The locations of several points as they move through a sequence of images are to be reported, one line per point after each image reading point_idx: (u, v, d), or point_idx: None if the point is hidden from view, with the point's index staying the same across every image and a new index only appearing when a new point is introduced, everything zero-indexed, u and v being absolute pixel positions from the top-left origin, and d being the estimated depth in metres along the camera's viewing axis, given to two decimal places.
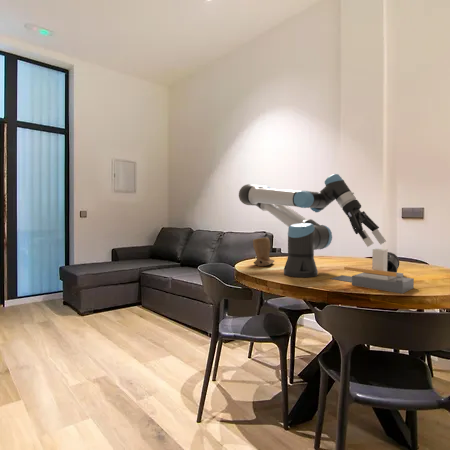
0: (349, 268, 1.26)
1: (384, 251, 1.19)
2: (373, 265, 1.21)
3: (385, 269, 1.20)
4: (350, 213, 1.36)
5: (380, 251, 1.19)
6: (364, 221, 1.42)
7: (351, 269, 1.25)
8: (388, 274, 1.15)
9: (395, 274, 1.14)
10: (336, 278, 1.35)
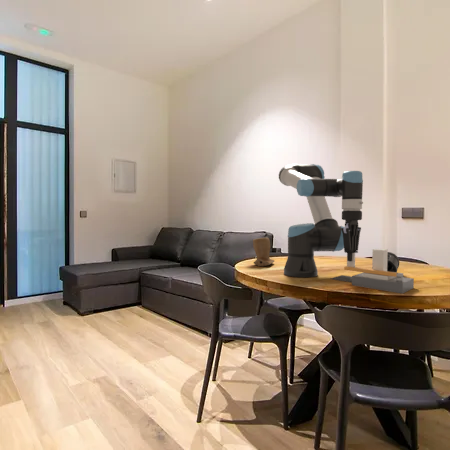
0: (349, 268, 1.26)
1: (384, 251, 1.19)
2: (373, 265, 1.21)
3: (385, 269, 1.20)
4: (346, 231, 1.23)
5: (380, 251, 1.19)
6: None
7: (351, 269, 1.25)
8: (388, 274, 1.15)
9: (395, 274, 1.14)
10: (336, 278, 1.35)
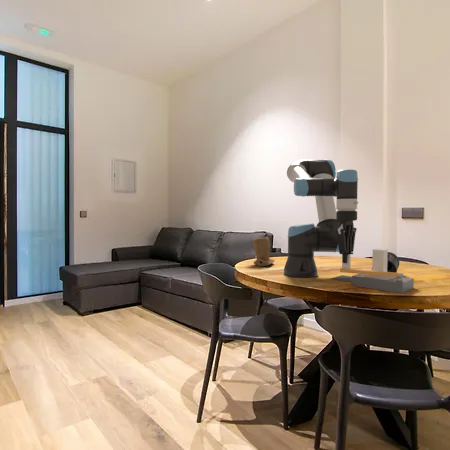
0: (345, 270, 1.21)
1: (384, 251, 1.19)
2: (373, 265, 1.21)
3: (385, 269, 1.20)
4: (340, 232, 1.19)
5: (380, 251, 1.19)
6: None
7: (348, 271, 1.21)
8: (388, 275, 1.14)
9: (396, 274, 1.13)
10: (336, 278, 1.35)
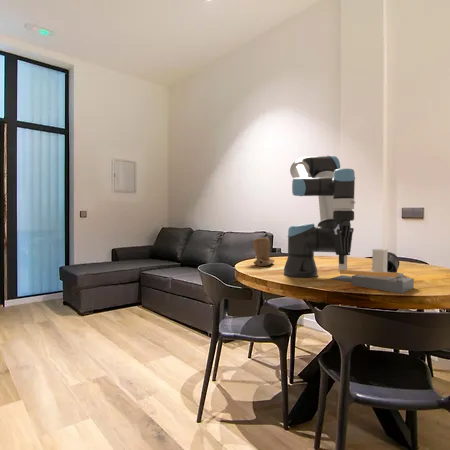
0: (346, 272, 1.18)
1: (384, 251, 1.19)
2: (373, 265, 1.21)
3: (385, 269, 1.20)
4: (337, 232, 1.16)
5: (380, 251, 1.19)
6: None
7: (348, 272, 1.18)
8: (389, 275, 1.14)
9: (396, 274, 1.13)
10: (336, 278, 1.35)
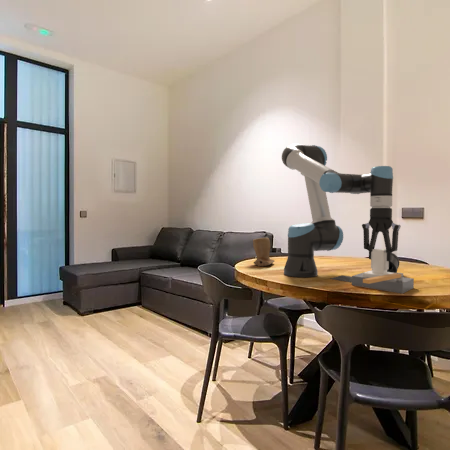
0: (372, 280, 1.03)
1: (384, 251, 1.19)
2: (373, 265, 1.21)
3: None
4: None
5: (380, 251, 1.19)
6: None
7: (374, 281, 1.04)
8: (397, 276, 1.11)
9: (400, 275, 1.12)
10: (336, 278, 1.35)
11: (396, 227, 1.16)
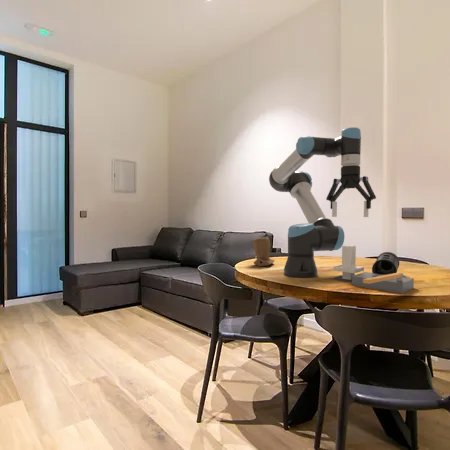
0: (372, 280, 1.03)
1: (352, 247, 1.32)
2: (343, 260, 1.34)
3: (353, 263, 1.33)
4: None
5: (348, 247, 1.32)
6: None
7: (374, 281, 1.04)
8: (397, 276, 1.11)
9: (400, 275, 1.12)
10: (336, 278, 1.35)
11: (364, 178, 1.28)
